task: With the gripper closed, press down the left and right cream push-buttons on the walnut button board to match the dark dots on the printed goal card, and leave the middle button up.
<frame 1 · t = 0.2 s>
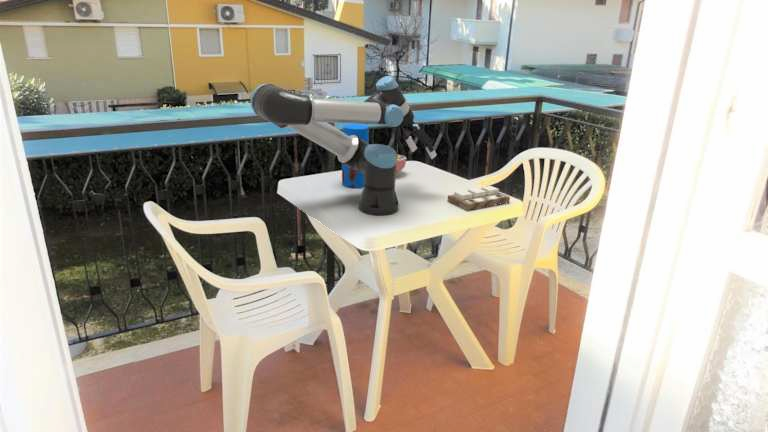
hand: (424, 153, 219), 15 cm above the table, tool tilted 35°, fingers open, 13 cm apart
button board: (478, 202, 211), on the table
button right: (489, 191, 215), point 3 cm above the table, slide at 0.0 cm
cell model: (384, 174, 243), on the table
thermos: (354, 185, 227), on the table
button left: (463, 195, 208), point 3 cm above the table, slide at 0.0 cm
button middle: (476, 193, 211), point 3 cm above the table, slide at 0.0 cm
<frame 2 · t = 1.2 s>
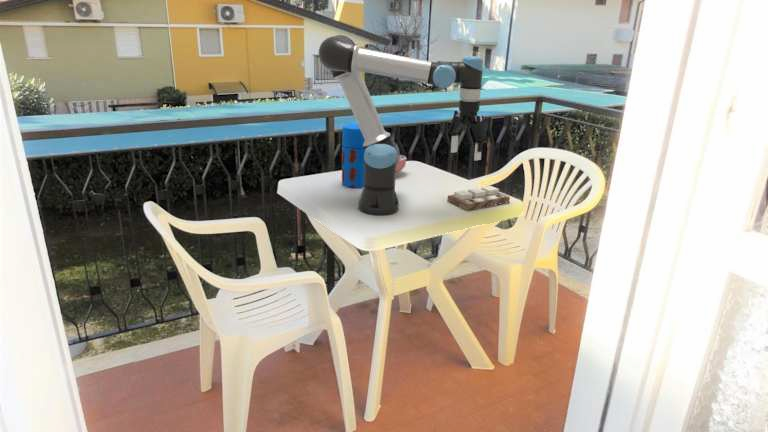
hand: (465, 156, 203), 19 cm above the table, tool pointing down, fingers open, 13 cm apart
nothing on the table moved.
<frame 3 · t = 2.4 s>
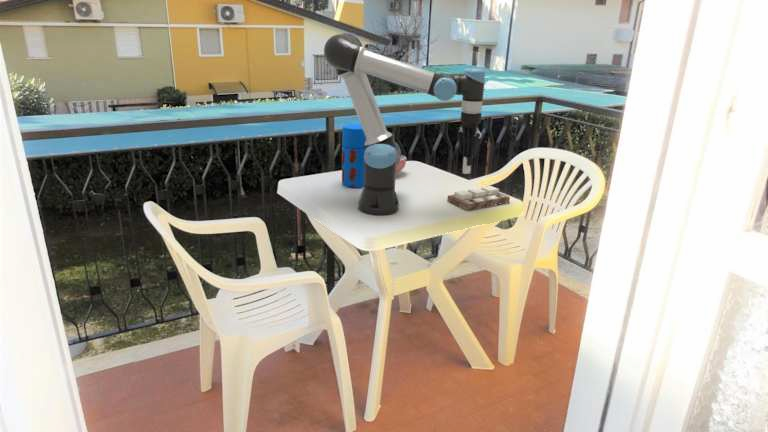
hand: (466, 173, 204), 13 cm above the table, tool pointing down, fingers closed
nothing on the table moved.
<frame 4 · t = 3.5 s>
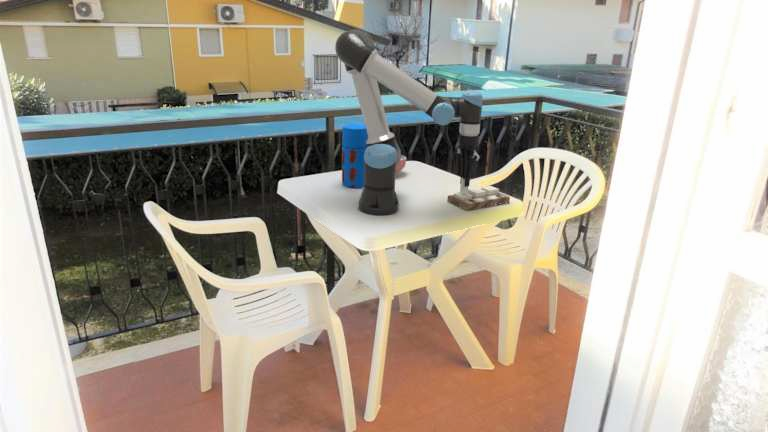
hand: (463, 193, 207), 4 cm above the table, tool pointing down, fingers closed
button left: (462, 197, 208), point 3 cm above the table, slide at 0.6 cm, touching gripper
everything else where it was.
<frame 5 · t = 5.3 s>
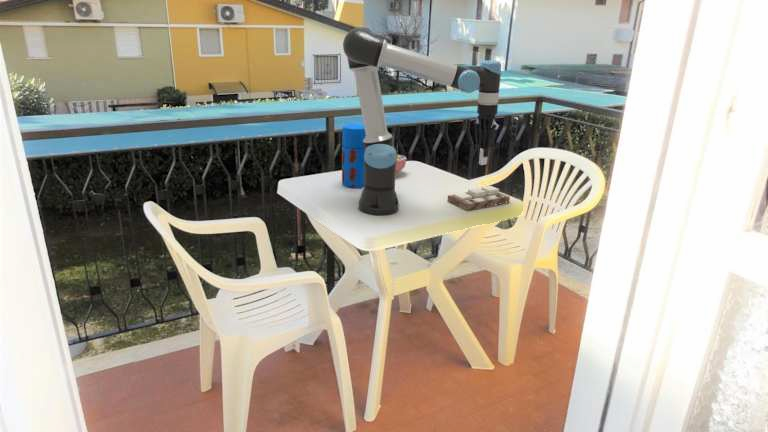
hand: (482, 164, 207), 15 cm above the table, tool pointing down, fingers closed
button left: (462, 198, 208), point 2 cm above the table, slide at 1.1 cm
everything else where it was.
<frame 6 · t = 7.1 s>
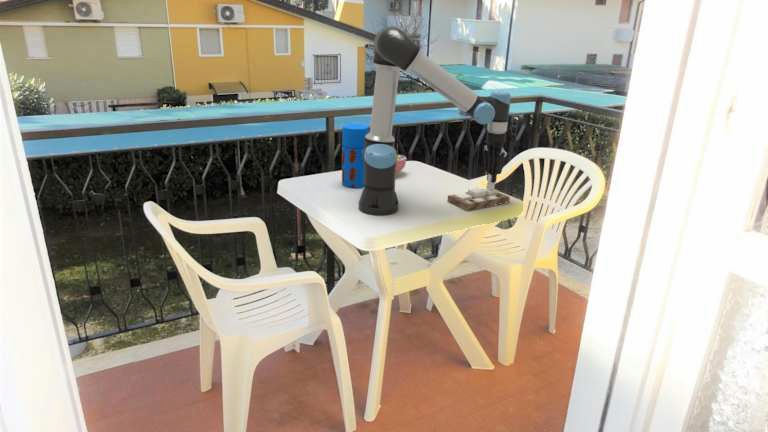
hand: (490, 189, 214), 4 cm above the table, tool pointing down, fingers closed
button right: (489, 192, 215), point 3 cm above the table, slide at 0.7 cm, touching gripper
everything else where it was.
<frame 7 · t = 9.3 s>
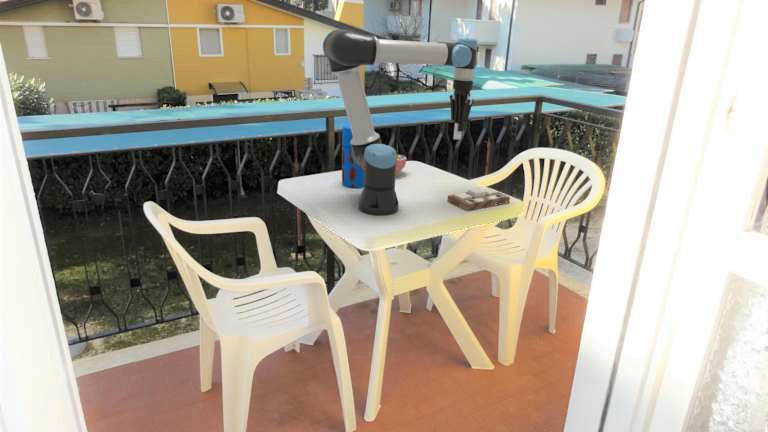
hand: (457, 138, 215), 23 cm above the table, tool pointing down, fingers closed
button right: (489, 193, 215), point 2 cm above the table, slide at 1.1 cm
everything else where it was.
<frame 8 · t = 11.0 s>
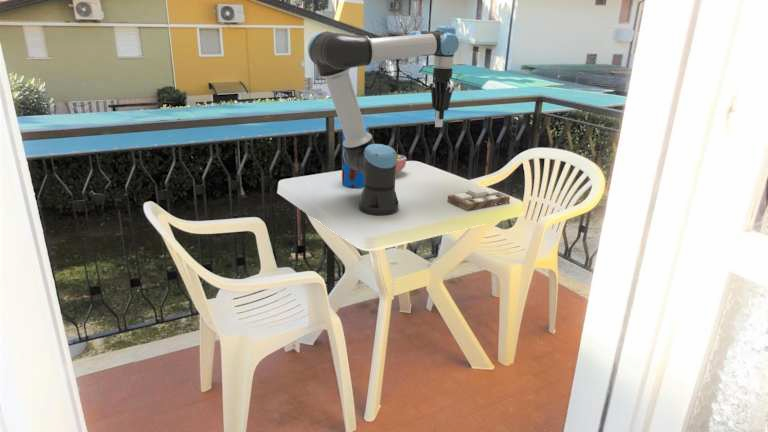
hand: (438, 126, 217), 26 cm above the table, tool pointing down, fingers closed
nothing on the table moved.
at the end: button left slide at 1.1 cm; button right slide at 1.1 cm; button middle slide at 0.0 cm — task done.
